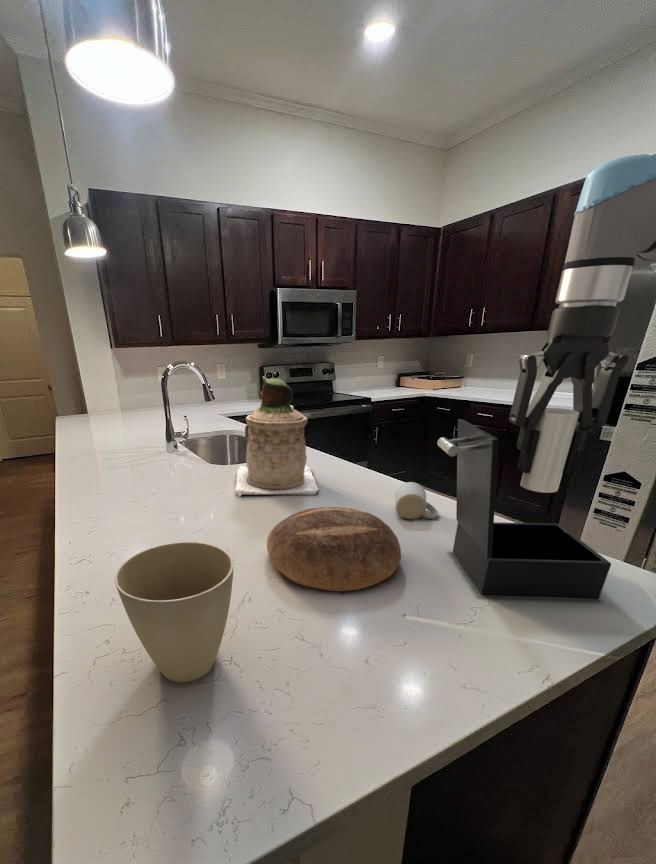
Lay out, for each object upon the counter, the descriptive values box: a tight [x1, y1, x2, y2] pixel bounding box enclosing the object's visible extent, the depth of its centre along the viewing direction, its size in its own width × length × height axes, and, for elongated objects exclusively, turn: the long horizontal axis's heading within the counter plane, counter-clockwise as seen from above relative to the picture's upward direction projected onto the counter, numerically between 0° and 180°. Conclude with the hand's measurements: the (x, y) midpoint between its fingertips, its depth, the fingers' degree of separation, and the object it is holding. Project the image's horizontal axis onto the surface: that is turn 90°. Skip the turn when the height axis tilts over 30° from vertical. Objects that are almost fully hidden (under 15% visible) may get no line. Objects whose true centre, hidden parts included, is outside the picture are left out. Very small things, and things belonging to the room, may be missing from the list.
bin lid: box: [436, 418, 499, 558], centre depth 74 cm, size 20×16×6 cm
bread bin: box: [452, 521, 612, 600], centre depth 78 cm, size 20×16×8 cm
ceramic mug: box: [394, 481, 439, 520], centre depth 105 cm, size 11×8×8 cm
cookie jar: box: [234, 376, 319, 498], centre depth 124 cm, size 25×25×32 cm
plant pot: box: [114, 541, 235, 683], centre depth 57 cm, size 15×15×16 cm
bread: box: [266, 506, 402, 592], centre depth 85 cm, size 26×27×10 cm
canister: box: [519, 407, 580, 494], centre depth 64 cm, size 5×5×12 cm
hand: (542, 470), depth 65 cm, fingers closed on canister, 5 cm apart
